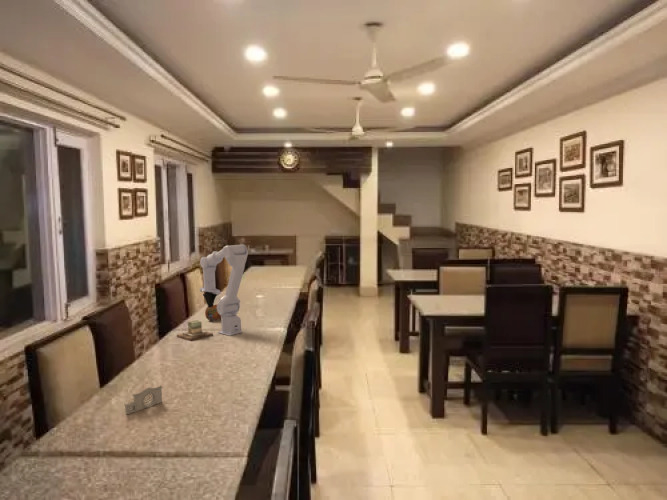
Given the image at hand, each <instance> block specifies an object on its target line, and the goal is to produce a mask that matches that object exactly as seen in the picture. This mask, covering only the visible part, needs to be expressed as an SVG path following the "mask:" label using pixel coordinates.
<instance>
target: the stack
mask: <svg viewBox="0 0 667 500" xmlns="http://www.w3.org/2000/svg"><path fill="white" fill-rule="evenodd" d="M187 330H188V331H187V332H188V334H192V335H194V334H198V333H202V331H203V327H202V321H201V320H198V319H195V320H191V321H187Z"/></svg>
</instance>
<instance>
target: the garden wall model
mask: <svg viewBox="0 0 667 500" xmlns="http://www.w3.org/2000/svg"><path fill="white" fill-rule="evenodd" d="M162 389H163V385H158V386H157V387H146V388H144V389H143V390H141V391H140V392H138V393H134V394H132V397H133V401H132V402H129V403H124V404H123V406H124V407H125V414H126V415H130V414H133V413H135V412H138V411H142V410H144V409H147V408H149V409H150V408H151V407H153V406H155V405H158V404H160V403H163V395H162V394H163V393H162Z"/></svg>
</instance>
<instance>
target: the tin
mask: <svg viewBox="0 0 667 500" xmlns="http://www.w3.org/2000/svg"><path fill="white" fill-rule="evenodd" d="M217 304H218V303H216V304H215V303H214V304H213V307H208V306H207V307H206V309H205V311H204V315H205V318H206V319H207V320H208V321H212V322H214V321H213V320H215V321H218V320H217V319H219V320H221V315H220V314H219V313H218V312H217Z"/></svg>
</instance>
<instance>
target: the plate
mask: <svg viewBox="0 0 667 500" xmlns="http://www.w3.org/2000/svg"><path fill="white" fill-rule="evenodd" d="M213 336H214V333H212V332H209V331H206V330H205V331H204V330H202V333H198V334H194V335H192V334H188V331H185V332H182V333H178V334H176V338H179V339H183V340H187V341H190V342H193V341H197V340H201V339H205V338H209V337H213Z"/></svg>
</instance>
